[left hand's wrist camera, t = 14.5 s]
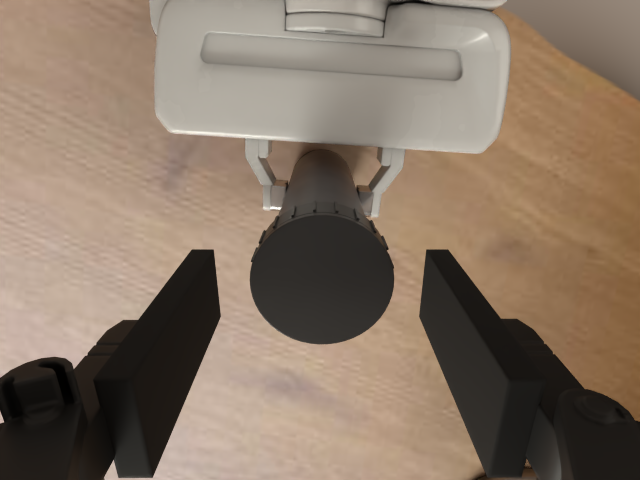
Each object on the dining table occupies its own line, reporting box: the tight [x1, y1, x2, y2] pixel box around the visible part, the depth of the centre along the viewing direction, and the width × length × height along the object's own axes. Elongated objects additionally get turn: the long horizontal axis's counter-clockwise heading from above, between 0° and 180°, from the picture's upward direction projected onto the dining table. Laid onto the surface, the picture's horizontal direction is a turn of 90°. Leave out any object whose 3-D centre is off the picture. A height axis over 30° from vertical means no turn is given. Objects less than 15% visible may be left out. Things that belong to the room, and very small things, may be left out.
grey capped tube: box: [278, 150, 365, 216], centre depth 24 cm, size 5×5×18 cm
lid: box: [250, 201, 394, 344], centre depth 16 cm, size 6×6×2 cm
